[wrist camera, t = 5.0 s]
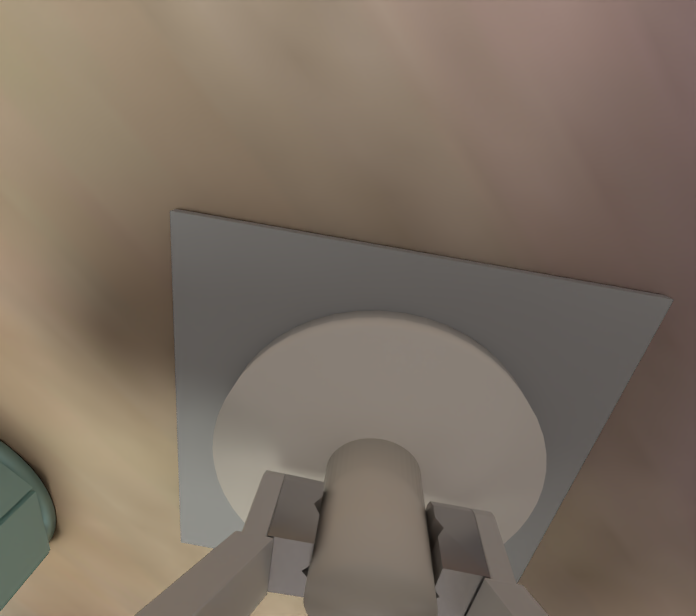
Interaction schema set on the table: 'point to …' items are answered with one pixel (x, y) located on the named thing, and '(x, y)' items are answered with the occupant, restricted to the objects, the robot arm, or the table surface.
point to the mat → (396, 296)
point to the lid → (380, 448)
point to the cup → (21, 522)
